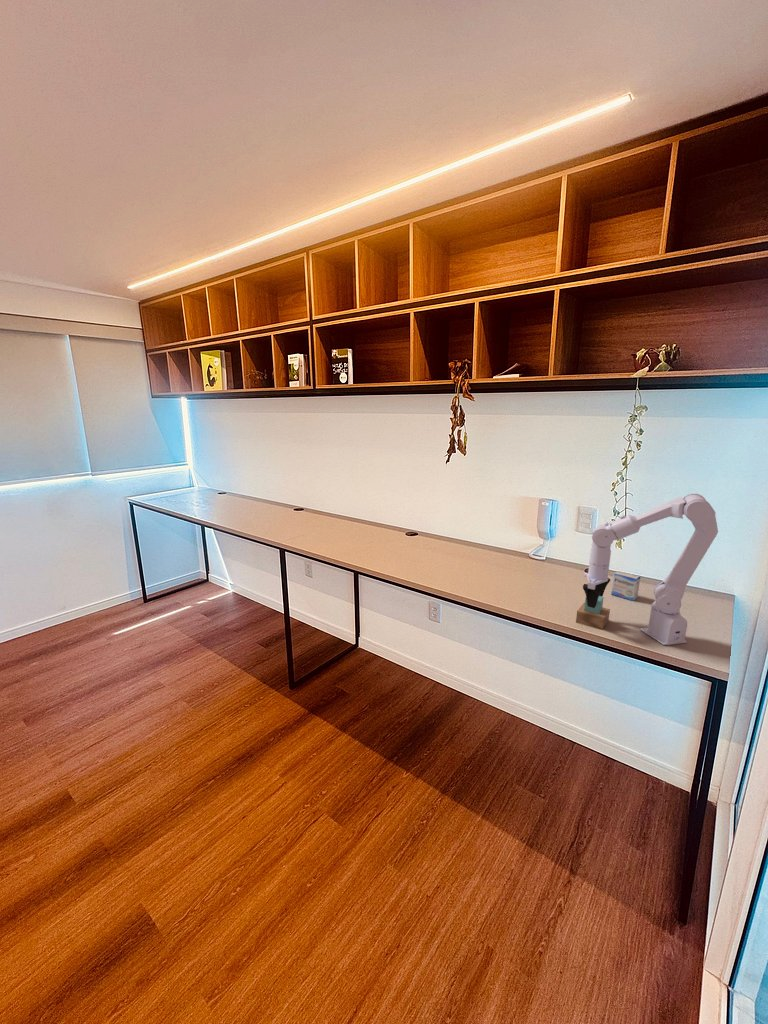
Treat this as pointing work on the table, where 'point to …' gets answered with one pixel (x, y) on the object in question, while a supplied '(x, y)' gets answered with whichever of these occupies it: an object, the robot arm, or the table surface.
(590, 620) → the walnut block
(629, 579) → the medicine box
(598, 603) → the teal cube
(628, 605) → the table surface
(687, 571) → the robot arm
